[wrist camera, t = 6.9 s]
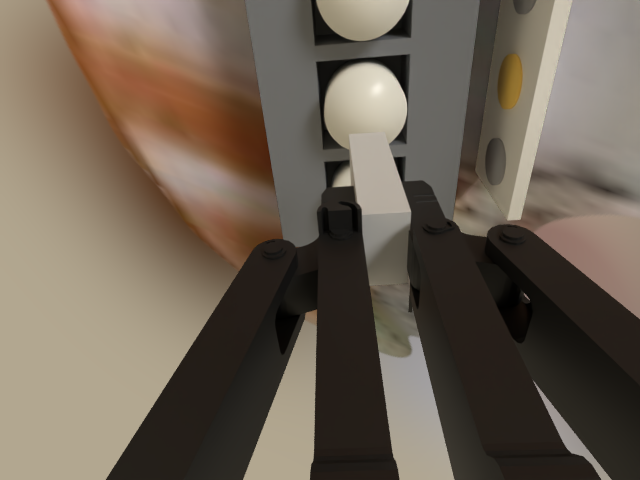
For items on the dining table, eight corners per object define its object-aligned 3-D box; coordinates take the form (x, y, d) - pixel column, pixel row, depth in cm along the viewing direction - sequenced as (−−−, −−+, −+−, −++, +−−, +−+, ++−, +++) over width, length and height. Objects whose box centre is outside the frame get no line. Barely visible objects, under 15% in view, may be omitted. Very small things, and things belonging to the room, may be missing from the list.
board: (220, -263, 19) (194, -315, 15) (486, -299, 18) (525, -362, 14) (289, 215, 34) (284, 247, 30) (437, 207, 33) (450, 239, 29)
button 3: (322, 61, 24) (320, 73, 22) (400, 54, 24) (408, 66, 21) (327, 136, 27) (327, 154, 24) (398, 131, 26) (405, 149, 24)
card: (526, -208, 20) (606, -273, 14) (549, -210, 20) (638, -278, 14) (471, 171, 31) (503, 220, 25) (485, 170, 31) (520, 219, 25)
